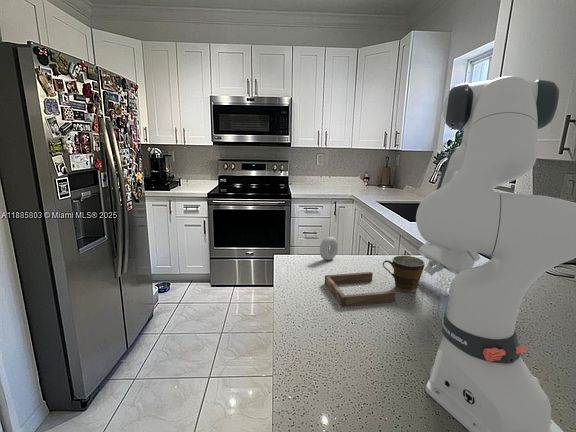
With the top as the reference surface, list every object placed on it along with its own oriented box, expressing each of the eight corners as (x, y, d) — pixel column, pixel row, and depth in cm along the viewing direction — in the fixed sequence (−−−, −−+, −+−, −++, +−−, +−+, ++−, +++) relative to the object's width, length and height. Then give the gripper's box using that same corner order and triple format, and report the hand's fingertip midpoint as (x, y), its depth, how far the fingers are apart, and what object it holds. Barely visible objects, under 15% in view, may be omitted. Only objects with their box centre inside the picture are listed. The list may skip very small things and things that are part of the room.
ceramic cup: (419, 284, 110) (422, 256, 108) (423, 297, 100) (427, 267, 98) (380, 280, 113) (382, 253, 111) (381, 292, 103) (383, 263, 101)
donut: (333, 256, 137) (334, 233, 134) (339, 258, 134) (340, 235, 132) (317, 261, 130) (318, 238, 128) (323, 263, 128) (324, 240, 126)
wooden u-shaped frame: (394, 301, 97) (395, 292, 97) (342, 306, 94) (342, 297, 93) (370, 279, 113) (371, 271, 112) (324, 283, 109) (324, 275, 109)
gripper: (431, 229, 116) (405, 256, 116) (474, 247, 97) (442, 279, 97) (440, 240, 118) (414, 267, 118) (484, 260, 99) (453, 291, 99)
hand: (427, 272), depth 107 cm, fingers closed
